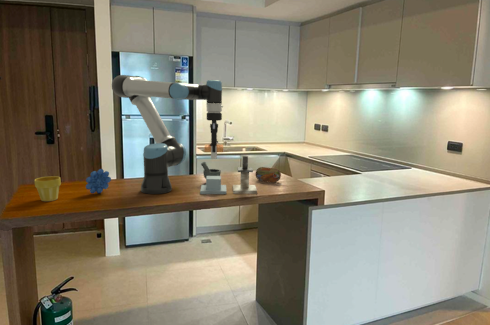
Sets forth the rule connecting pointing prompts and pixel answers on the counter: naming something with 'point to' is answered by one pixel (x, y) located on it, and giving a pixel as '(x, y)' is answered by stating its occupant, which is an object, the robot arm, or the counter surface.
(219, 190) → the block
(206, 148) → the link
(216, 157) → the robot arm
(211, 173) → the mortar and pestle
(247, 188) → the post stand
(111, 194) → the counter surface
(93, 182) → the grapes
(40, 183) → the plant pot
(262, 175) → the tin
